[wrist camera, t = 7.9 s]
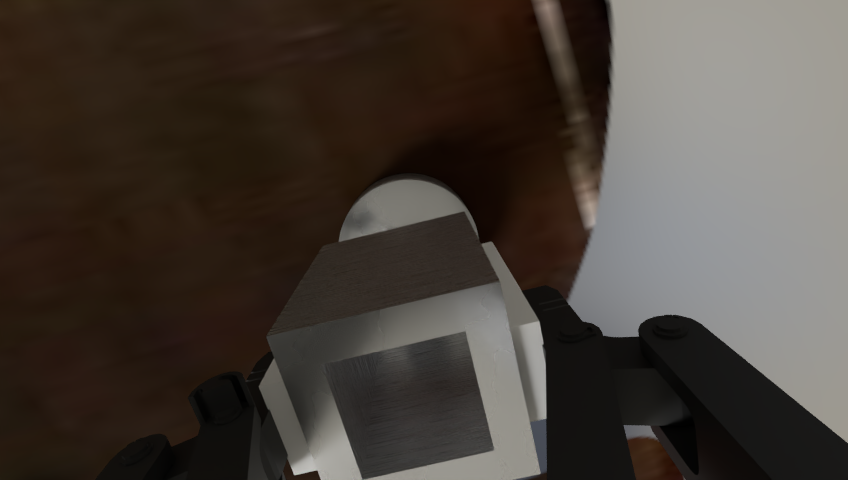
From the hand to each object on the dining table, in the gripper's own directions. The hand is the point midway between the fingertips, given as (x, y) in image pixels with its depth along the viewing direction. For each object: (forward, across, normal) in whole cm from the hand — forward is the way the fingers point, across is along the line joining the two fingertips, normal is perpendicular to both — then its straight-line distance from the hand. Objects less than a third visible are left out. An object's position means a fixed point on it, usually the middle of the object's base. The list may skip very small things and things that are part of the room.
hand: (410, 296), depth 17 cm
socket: (0, 0, 0) cm, 0 cm away
